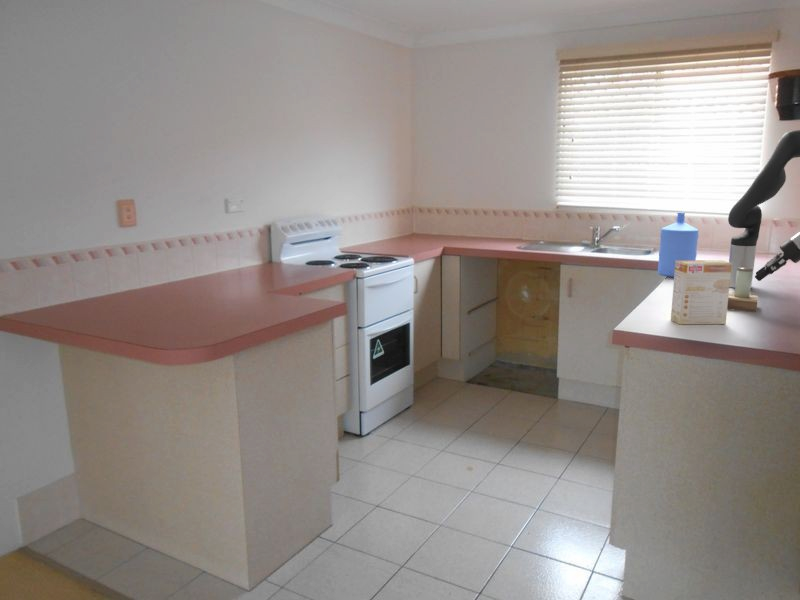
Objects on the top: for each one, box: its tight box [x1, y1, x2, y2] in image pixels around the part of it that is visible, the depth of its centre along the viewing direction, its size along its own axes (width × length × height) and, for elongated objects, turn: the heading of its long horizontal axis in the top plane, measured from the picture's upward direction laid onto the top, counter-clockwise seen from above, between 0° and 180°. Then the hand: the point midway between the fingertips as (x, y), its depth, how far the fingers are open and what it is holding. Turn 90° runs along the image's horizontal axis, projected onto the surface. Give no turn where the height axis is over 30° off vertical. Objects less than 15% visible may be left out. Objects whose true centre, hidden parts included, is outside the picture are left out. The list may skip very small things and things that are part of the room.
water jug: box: [657, 212, 699, 278], centre depth 296 cm, size 16×16×28 cm
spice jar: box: [733, 267, 754, 298], centre depth 229 cm, size 5×5×10 cm
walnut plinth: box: [727, 292, 758, 313], centre depth 230 cm, size 10×10×4 cm
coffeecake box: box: [670, 259, 732, 325], centre depth 207 cm, size 15×7×20 cm, turn 92°
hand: (757, 277), depth 226 cm, fingers open, 8 cm apart
